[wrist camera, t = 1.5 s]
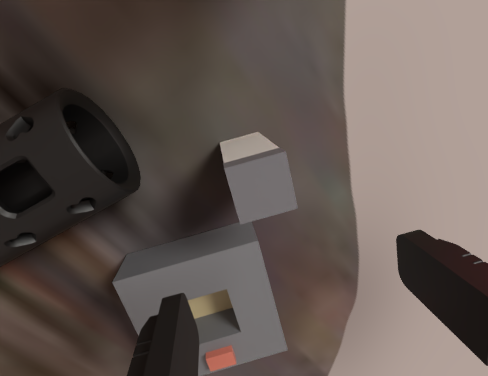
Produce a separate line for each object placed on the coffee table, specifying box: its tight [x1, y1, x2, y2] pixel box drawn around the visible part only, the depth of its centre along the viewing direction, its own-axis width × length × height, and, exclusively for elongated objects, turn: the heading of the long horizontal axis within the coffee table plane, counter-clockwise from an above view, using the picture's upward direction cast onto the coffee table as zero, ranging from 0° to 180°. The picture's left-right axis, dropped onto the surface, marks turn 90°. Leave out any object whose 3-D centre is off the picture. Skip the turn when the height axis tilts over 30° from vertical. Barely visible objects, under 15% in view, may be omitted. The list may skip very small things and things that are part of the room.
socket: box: [112, 221, 288, 376], centre depth 31 cm, size 14×14×6 cm
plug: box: [220, 132, 298, 225], centre depth 24 cm, size 4×4×11 cm
